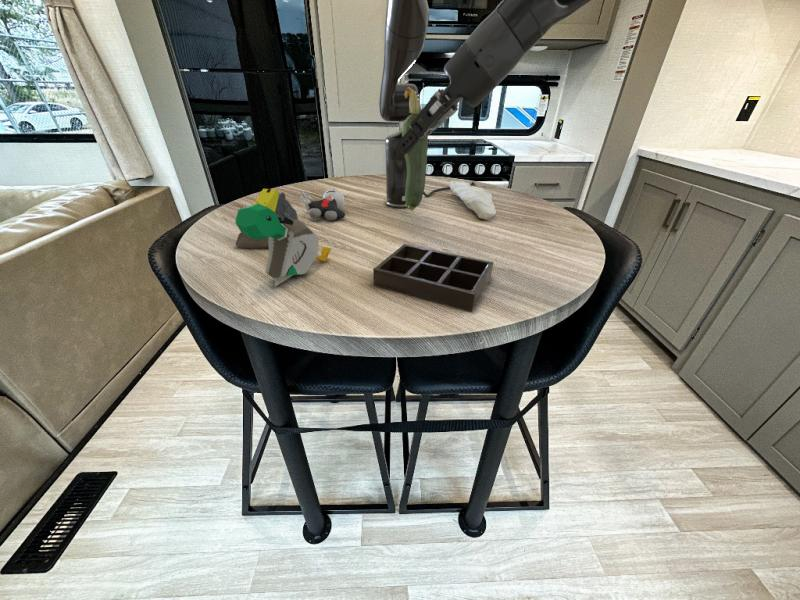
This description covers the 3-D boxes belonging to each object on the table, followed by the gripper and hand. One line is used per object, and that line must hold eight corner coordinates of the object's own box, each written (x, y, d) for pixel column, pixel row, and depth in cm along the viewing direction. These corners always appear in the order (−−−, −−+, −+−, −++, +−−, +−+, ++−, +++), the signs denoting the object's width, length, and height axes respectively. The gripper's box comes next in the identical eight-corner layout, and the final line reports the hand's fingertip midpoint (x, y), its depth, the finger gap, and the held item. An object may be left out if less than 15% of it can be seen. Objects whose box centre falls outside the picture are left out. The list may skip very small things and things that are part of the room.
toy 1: (336, 223, 71) (269, 180, 53) (320, 297, 70) (246, 279, 52) (313, 221, 74) (242, 180, 56) (297, 292, 73) (219, 274, 55)
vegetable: (428, 209, 63) (433, 87, 52) (420, 216, 60) (424, 87, 49) (407, 206, 65) (408, 87, 54) (398, 212, 61) (397, 87, 50)
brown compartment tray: (403, 258, 73) (404, 243, 71) (490, 277, 65) (493, 262, 64) (373, 285, 63) (372, 269, 61) (472, 311, 55) (474, 294, 54)
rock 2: (446, 193, 118) (461, 219, 92) (449, 179, 115) (465, 200, 89) (484, 198, 119) (509, 224, 93) (488, 183, 116) (515, 206, 90)
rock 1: (218, 223, 73) (277, 203, 71) (236, 206, 82) (289, 187, 79) (247, 264, 79) (301, 246, 77) (261, 244, 88) (310, 227, 86)
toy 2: (286, 202, 89) (304, 182, 101) (291, 224, 93) (307, 203, 105) (341, 206, 88) (352, 186, 100) (343, 228, 93) (354, 206, 104)
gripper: (472, 44, 52) (401, 127, 62) (460, 32, 41) (374, 136, 50) (501, 84, 54) (426, 158, 63) (497, 82, 42) (407, 173, 52)
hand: (404, 148), depth 57 cm, fingers closed on vegetable, 4 cm apart
